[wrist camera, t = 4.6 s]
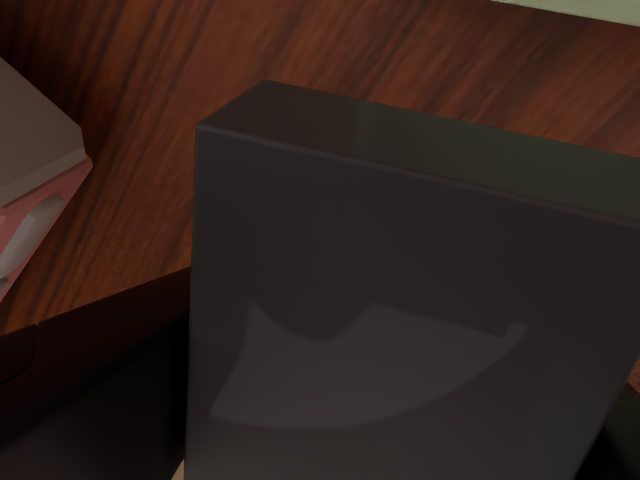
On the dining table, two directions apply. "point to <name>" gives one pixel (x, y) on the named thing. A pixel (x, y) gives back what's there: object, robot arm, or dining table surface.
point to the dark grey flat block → (402, 294)
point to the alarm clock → (33, 170)
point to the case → (589, 8)
